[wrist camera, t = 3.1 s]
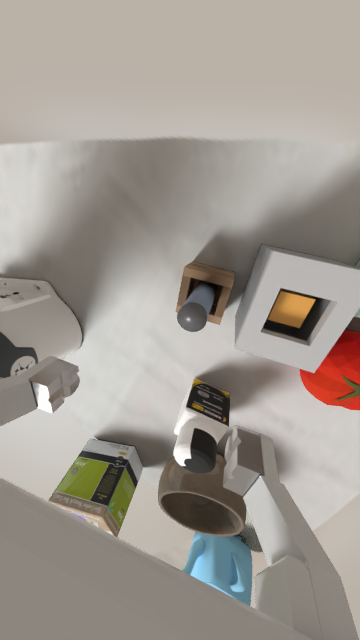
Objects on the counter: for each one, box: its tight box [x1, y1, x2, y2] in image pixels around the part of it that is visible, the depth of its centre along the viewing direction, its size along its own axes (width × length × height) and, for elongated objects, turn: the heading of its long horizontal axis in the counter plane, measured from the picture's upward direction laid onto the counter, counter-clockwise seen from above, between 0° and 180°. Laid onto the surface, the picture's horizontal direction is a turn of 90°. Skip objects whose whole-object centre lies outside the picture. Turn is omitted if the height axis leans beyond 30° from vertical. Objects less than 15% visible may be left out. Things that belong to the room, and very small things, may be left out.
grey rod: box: [177, 280, 217, 332], centre depth 22 cm, size 3×3×10 cm
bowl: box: [158, 454, 246, 537], centre depth 41 cm, size 17×18×10 cm
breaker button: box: [267, 288, 315, 328], centre depth 20 cm, size 3×3×2 cm
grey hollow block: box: [235, 244, 360, 373], centre depth 21 cm, size 8×10×9 cm
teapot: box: [183, 531, 252, 606], centre depth 52 cm, size 18×16×14 cm
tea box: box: [49, 439, 143, 537], centre depth 48 cm, size 15×10×15 cm
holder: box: [176, 262, 235, 325], centre depth 25 cm, size 6×6×4 cm
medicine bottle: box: [173, 379, 230, 474], centre depth 31 cm, size 7×7×12 cm
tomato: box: [300, 330, 360, 410], centre depth 23 cm, size 9×10×8 cm
